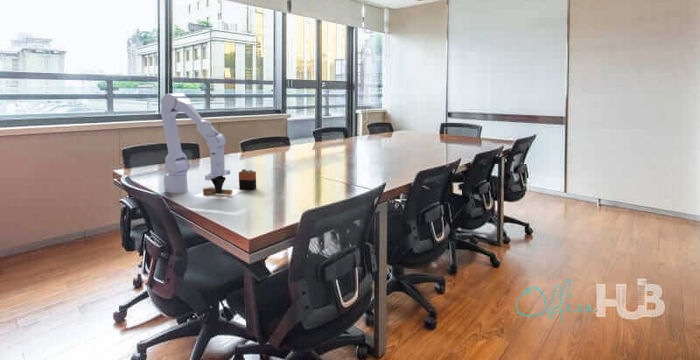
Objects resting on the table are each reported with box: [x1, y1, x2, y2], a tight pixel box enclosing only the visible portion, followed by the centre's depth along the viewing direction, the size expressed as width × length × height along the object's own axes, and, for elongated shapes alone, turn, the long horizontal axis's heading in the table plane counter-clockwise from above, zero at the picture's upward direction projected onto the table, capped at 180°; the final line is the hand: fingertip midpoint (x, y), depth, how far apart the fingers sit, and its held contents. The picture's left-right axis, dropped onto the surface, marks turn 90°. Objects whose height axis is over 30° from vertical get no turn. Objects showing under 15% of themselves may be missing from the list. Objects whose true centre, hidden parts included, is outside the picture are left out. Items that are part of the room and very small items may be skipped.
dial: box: [202, 186, 232, 195], centre depth 187 cm, size 13×5×2 cm, turn 77°
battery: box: [238, 168, 257, 191], centre depth 197 cm, size 4×7×10 cm, turn 77°
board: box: [194, 187, 245, 200], centre depth 190 cm, size 15×17×1 cm
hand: (218, 193), depth 186 cm, fingers closed, pressing on dial
